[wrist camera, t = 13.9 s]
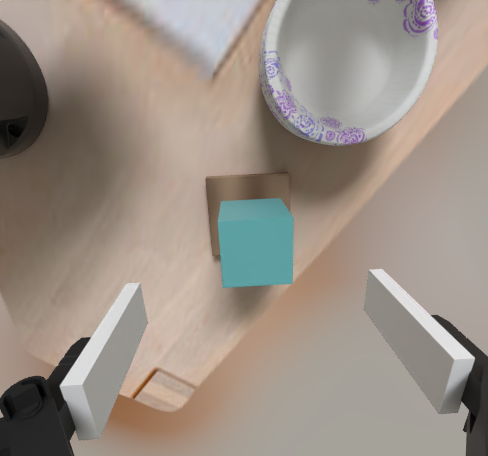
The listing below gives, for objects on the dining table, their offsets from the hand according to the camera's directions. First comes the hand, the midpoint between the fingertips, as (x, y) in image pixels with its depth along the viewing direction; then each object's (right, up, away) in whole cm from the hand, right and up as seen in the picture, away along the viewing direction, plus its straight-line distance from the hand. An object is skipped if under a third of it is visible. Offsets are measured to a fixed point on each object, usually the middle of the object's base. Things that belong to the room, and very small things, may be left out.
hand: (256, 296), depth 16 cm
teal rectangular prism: (0, +4, +15) cm, 16 cm away
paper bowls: (+8, +21, +15) cm, 28 cm away
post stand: (0, +6, +20) cm, 21 cm away
